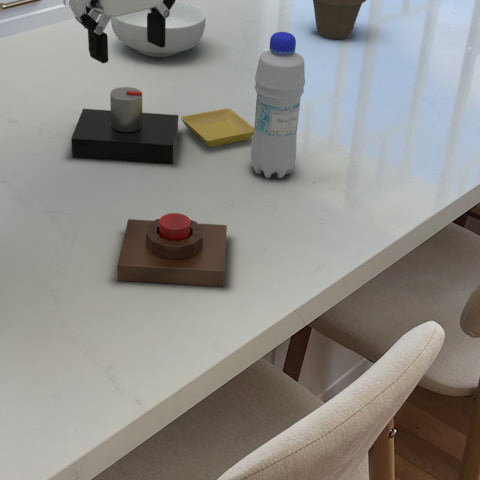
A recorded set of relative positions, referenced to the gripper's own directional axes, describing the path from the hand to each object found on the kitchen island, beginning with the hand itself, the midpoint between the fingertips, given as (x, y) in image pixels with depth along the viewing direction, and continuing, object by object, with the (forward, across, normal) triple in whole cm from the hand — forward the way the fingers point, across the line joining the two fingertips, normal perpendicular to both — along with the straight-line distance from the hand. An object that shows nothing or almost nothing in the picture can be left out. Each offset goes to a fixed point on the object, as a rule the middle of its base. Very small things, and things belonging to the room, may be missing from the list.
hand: (128, 52), depth 120 cm
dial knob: (+11, 0, -1) cm, 11 cm away
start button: (+10, +14, +26) cm, 32 cm away
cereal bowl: (+15, -28, -28) cm, 42 cm away
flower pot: (+15, -62, -15) cm, 65 cm away
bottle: (+14, -11, +18) cm, 26 cm away
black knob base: (+14, 0, 0) cm, 14 cm away
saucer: (+14, -12, +5) cm, 20 cm away
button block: (+14, +14, +26) cm, 33 cm away
